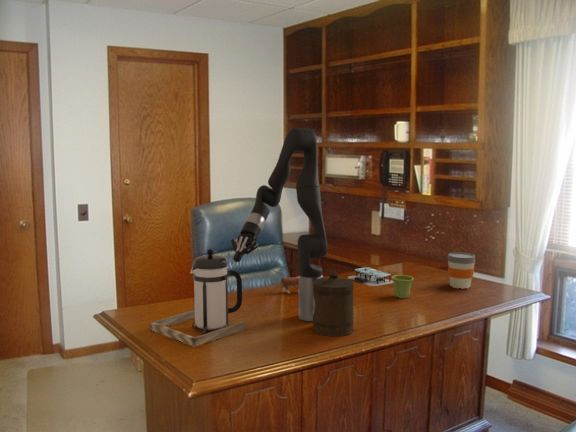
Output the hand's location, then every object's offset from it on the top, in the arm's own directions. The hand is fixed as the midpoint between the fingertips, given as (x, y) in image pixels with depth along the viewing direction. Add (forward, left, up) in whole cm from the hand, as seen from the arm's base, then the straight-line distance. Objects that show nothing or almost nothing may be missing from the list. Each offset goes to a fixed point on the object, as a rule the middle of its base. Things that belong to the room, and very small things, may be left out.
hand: (235, 260), depth 228 cm
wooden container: (-40, -11, -22) cm, 47 cm away
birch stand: (-4, +22, -22) cm, 31 cm away
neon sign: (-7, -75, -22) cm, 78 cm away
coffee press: (-6, +17, -22) cm, 28 cm away
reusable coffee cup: (-47, -100, -22) cm, 113 cm away
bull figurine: (+3, -39, -22) cm, 45 cm away
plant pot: (-36, -66, -22) cm, 78 cm away
